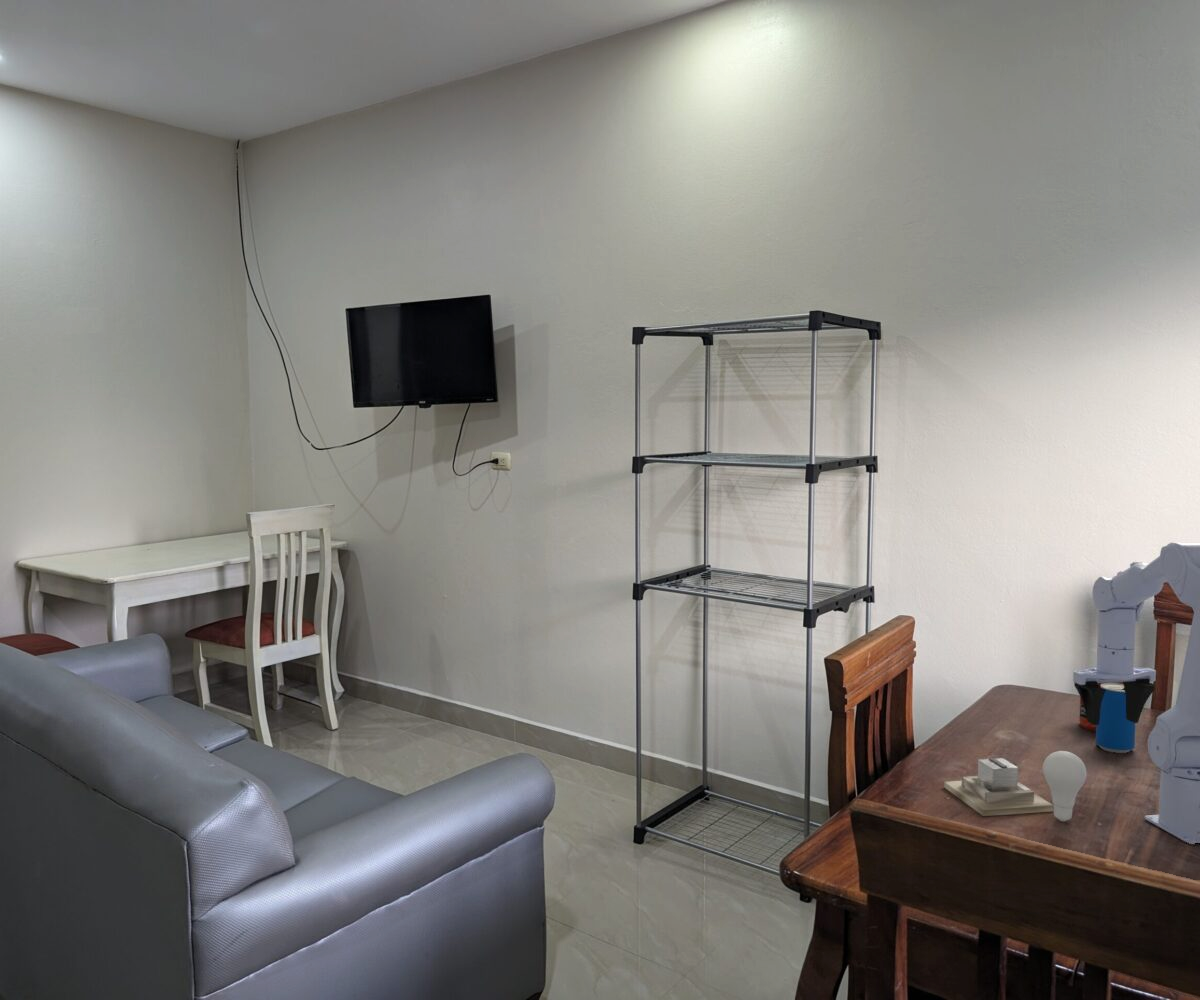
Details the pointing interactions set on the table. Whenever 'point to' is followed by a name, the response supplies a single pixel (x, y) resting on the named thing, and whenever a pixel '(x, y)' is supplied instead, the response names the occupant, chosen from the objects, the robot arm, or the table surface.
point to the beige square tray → (997, 798)
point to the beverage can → (1114, 721)
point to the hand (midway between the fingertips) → (1112, 722)
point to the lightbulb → (1064, 781)
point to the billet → (997, 775)
